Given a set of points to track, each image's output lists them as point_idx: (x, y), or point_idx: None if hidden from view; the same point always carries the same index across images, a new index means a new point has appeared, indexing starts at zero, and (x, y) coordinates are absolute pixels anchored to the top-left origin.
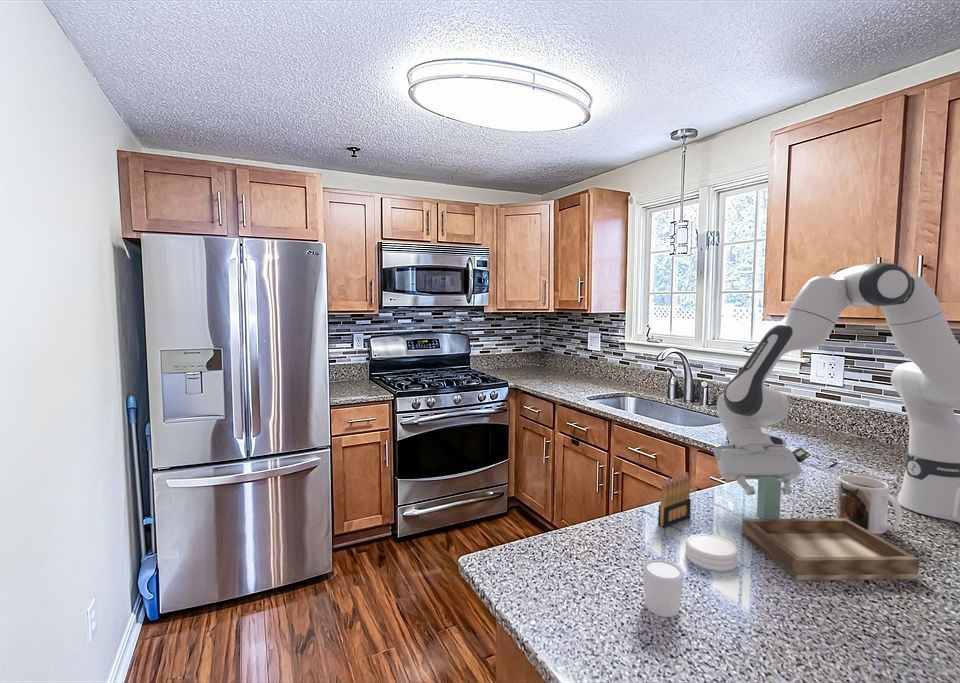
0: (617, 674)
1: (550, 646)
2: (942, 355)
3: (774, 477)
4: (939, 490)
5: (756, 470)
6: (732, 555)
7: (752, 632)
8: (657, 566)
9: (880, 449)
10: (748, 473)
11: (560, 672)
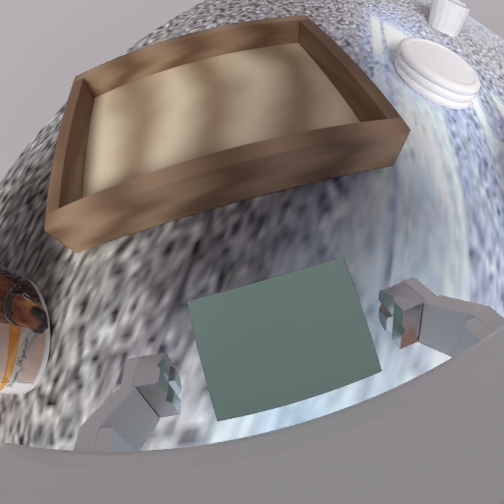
0: None
1: (475, 21)
2: None
3: (217, 397)
4: None
5: (417, 406)
6: (405, 38)
7: (366, 3)
8: (458, 2)
9: None
10: (474, 346)
11: None
